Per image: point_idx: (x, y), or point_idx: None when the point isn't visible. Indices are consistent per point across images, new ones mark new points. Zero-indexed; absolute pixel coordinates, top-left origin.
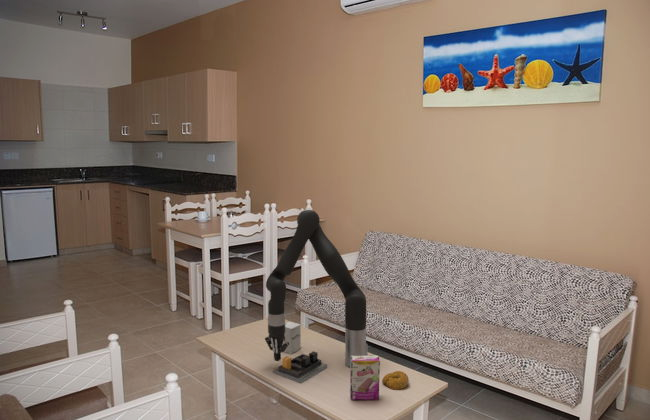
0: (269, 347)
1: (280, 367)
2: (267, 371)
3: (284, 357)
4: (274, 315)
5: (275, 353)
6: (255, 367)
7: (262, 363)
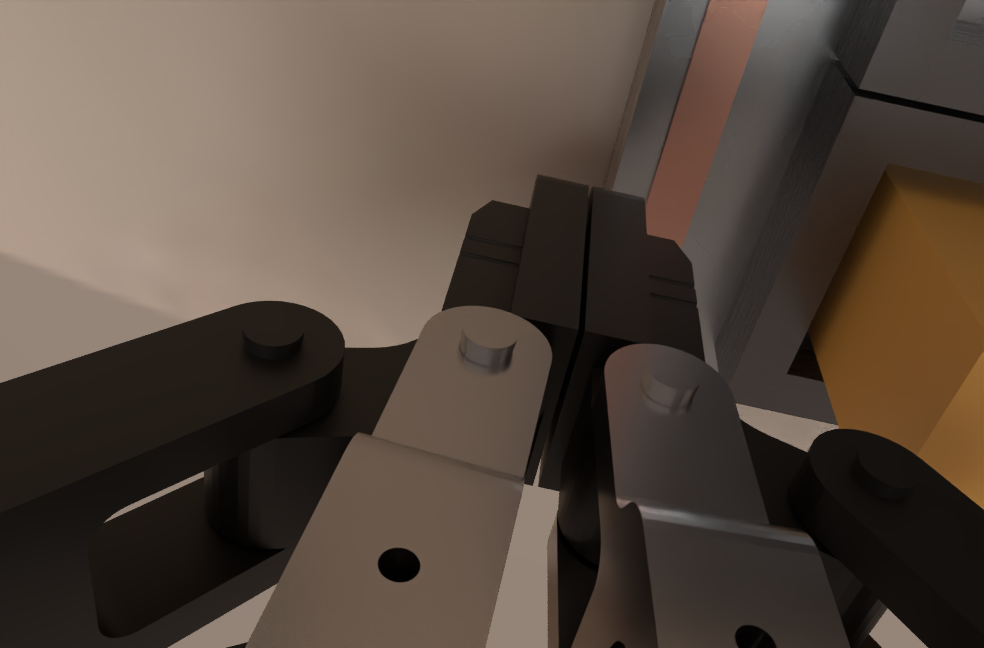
0: (168, 549)
1: (788, 410)
2: (437, 298)
3: (926, 445)
4: None
5: (534, 477)
6: (111, 242)
7: (73, 11)
